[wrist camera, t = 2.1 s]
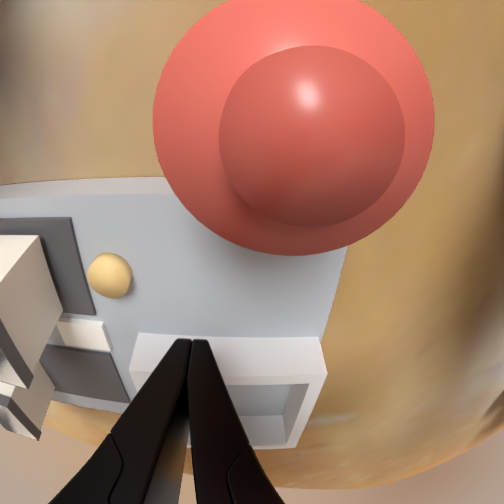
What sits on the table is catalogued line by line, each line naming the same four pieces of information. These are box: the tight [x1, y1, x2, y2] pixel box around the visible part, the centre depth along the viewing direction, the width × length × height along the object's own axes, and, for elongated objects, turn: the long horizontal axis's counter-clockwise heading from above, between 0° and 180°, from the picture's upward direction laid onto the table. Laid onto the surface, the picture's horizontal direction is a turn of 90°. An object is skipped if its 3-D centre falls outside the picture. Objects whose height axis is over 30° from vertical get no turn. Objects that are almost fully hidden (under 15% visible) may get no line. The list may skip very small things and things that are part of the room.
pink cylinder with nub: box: [153, 0, 434, 256], centre depth 7 cm, size 4×4×7 cm
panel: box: [0, 177, 348, 450], centre depth 12 cm, size 19×14×6 cm
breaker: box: [0, 235, 63, 390], centre depth 9 cm, size 2×4×4 cm
